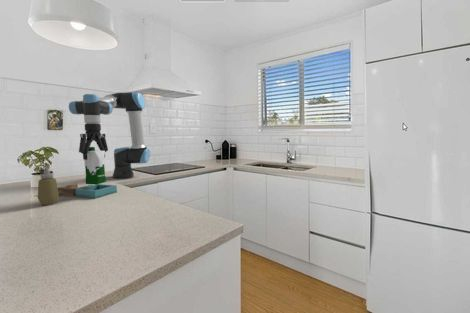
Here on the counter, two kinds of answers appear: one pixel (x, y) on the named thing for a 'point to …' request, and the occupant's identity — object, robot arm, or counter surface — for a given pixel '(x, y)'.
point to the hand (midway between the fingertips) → (95, 164)
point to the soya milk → (95, 167)
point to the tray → (96, 191)
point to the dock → (69, 190)
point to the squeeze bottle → (47, 188)
